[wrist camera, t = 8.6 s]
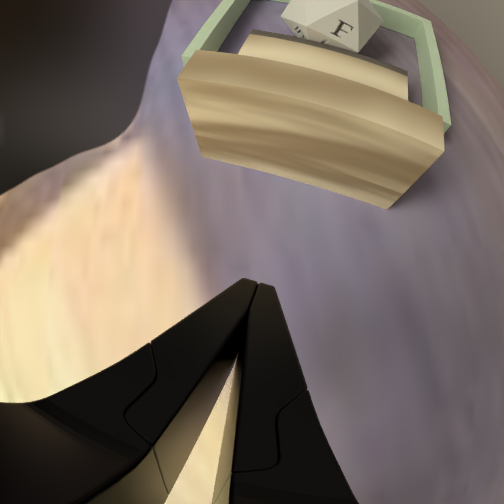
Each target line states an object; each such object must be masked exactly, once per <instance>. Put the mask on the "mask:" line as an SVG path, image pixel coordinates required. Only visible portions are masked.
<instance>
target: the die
mask: <svg viewBox="0 0 504 504" xmlns="http://www.w3.org/2000/svg"><path fill="white" fill-rule="evenodd" d="M281 17H282V19H283V20H284V21H285V22H286V24H287V25H288V26H289V27H290V29H291V30H292V31H293V33H294V34H295V35H296V37H298V38H303V39H307V40H312V41H316V42H320V43H324V44H328V45H331V46H335V47H339V48H342V49H345V50H349V51H352V52H355V53H358V52H359V51H360V50H361V49H362V47H363V46H364V45H365V44H366V43H367V41H368V40H369V39H370V38H371V36H372V35H373V34H374V33H375V32H376V30H377V29H378V28H379V27H380V26H381V24H382V23H383V20H382V18H381V17H380V15H379V14H378V13H377V11H376V10H375V8H374V7H373V5H372V4H371V3H370V1H369V0H291V1H290V3H289V4H288V6H287V7H286V9H285V11H284V12H283V14H282V15H281Z"/></svg>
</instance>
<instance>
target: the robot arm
mask: <svg viewBox="0 0 504 504" xmlns="http://www.w3.org/2000/svg"><path fill="white" fill-rule="evenodd" d="M237 355H238V356H237ZM236 358H237V360H236ZM235 361H236V364H235V369H234V375H233V381H232V387H231V393H230V399H229V405H228V411H227V417H226V422H225V428H224V434H223V440H222V446H221V452H220V458H219V464H218V470H217V475H216V481H215V487H214V493H213V499H212V504H359V503H358V501H357V500H356V498H355V496H354V494H353V493H352V491H351V489H350V486H349V484H348V482H347V480H346V478H345V476H344V474H343V472H342V470H341V468H340V466H339V464H338V462H337V460H336V458H335V456H334V454H333V451H332V449H331V447H330V445H329V443H328V441H327V438H326V436H325V434H324V432H323V429H322V427H321V425H320V422H319V420H318V417H317V414H316V411H315V408H314V406H313V403H312V400H311V396H310V393H309V391H308V390H307V384H306V381H305V378H304V375H303V372H302V369H301V366H300V363H299V360H298V357H297V354H296V350H295V347H294V344H293V341H292V338H291V335H290V332H289V329H288V326H287V323H286V320H285V317H284V314H283V311H282V308H281V305H280V302H279V299H278V296H277V293H276V290H275V287H274V286H271V285H267V284H264V283H259V284H258V283H257V282H256V281H253V280H249V279H246V278H242V279H240V280H239V281H237V282H236V283H235V284H233V285H232V286H230V287H229V288H227V289H226V290H224V291H223V292H222V293H220V294H219V295H217V296H216V297H214V298H213V299H211V300H210V301H209V302H207V303H206V304H204V305H203V306H201V307H200V308H198V309H197V310H196V311H194V312H193V313H191V314H190V315H188V316H187V317H185V318H184V319H182V320H181V321H180V322H178V323H177V324H175V325H174V326H172V327H171V328H169V329H168V330H166V331H165V332H163V333H162V334H161V335H159V336H158V337H156V338H155V339H153V340H152V341H151V344H150V343H147V344H145V345H144V346H143V347H141V348H140V349H138V350H137V351H135V352H133V353H132V354H130V355H129V356H127V357H125V358H124V359H122V360H121V361H119V362H117V363H115V364H114V365H112V366H110V367H108V368H106V369H104V370H102V371H101V372H99V373H97V374H95V375H93V376H91V377H89V378H87V379H84V380H82V381H80V382H78V383H76V384H74V385H72V386H70V387H68V388H66V389H64V390H62V391H60V392H58V393H55V394H53V395H51V396H49V397H46V398H43V399H40V400H37V401H32V402H25V403H4V402H0V504H164V503H165V501H166V499H167V497H168V495H169V494H170V492H171V490H172V488H173V486H174V484H175V482H176V480H177V478H178V476H179V474H180V473H181V471H182V469H183V467H184V465H185V463H186V461H187V459H188V457H189V455H190V453H191V451H192V449H193V447H194V445H195V443H196V441H197V439H198V437H199V435H200V433H201V431H202V429H203V427H204V425H205V423H206V421H207V419H208V417H209V415H210V413H211V411H212V409H213V407H214V405H215V403H216V401H217V399H218V397H219V395H220V393H221V391H222V389H223V387H224V385H225V382H226V380H227V378H228V376H229V374H230V372H231V370H232V368H233V365H234V363H235Z"/></svg>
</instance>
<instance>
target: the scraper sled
mask: <svg viewBox="0 0 504 504" xmlns="http://www.w3.org/2000/svg"><path fill="white" fill-rule="evenodd" d="M177 79H178V82H179V85H180V89H181V92H182V95H183V98H184V101H185V105H186V108H187V111H188V114H189V117H190V121H191V124H192V127H193V130H194V133H195V136H196V139H197V143H198V146H199V149H200V152H201V155H202V157H205V158H210V159H214V160H219V161H223V162H227V163H231V164H235V165H239V166H243V167H247V168H251V169H255V170H259V171H263V172H267V173H271V174H274V175H278V176H282V177H285V178H289V179H292V180H296V181H299V182H303V183H306V184H310V185H313V186H316V187H320V188H323V189H326V190H329V191H333V192H336V193H339V194H342V195H345V196H348V197H352V198H355V199H358V200H361V201H364V202H367V203H370V204H373V205H375V206H378V207H381V208H384V209H388V208H389V207H390V206H391V205H392V204H393V203H394V202H395V201H396V200H398V199H399V198H400V197H401V196H402V195H403V194H404V193H405V192H406V191H407V190H408V189H409V188H410V187H411V186H412V185H413V183H414V182H415V181H416V180H417V179H418V178H419V177H420V176H421V175H422V174H423V173H424V172H425V171H426V170H427V169H428V168H429V167H430V166H431V165H432V164H433V163H434V162H435V161H436V160H437V159H438V158H439V157H440V156H441V154H442V153H443V152H444V130H443V116H441V115H439V114H437V113H434V112H432V111H430V110H428V109H426V108H424V107H421V106H419V105H417V104H414V103H412V102H410V101H408V76H407V71H405V70H403V69H400V68H398V67H395V66H393V65H390V64H387V63H385V62H382V61H379V60H376V59H374V58H371V57H368V56H365V55H362V54H359V53H355V52H352V51H349V50H345V49H342V48H339V47H335V46H331V45H328V44H324V43H320V42H316V41H312V40H307V39H303V38H298V37H293V36H288V35H283V34H278V33H272V32H266V31H260V30H252V31H251V33H250V35H249V36H248V38H247V39H246V41H245V43H244V45H243V46H242V48H241V50H240V51H239V53H238V54H231V53H224V52H215V51H205V50H196V51H195V52H194V54H193V55H192V57H191V58H190V59H189V61H188V62H187V64H186V65H185V67H184V68H183V70H182V71H181V73H180V74H179V76H178V78H177Z"/></svg>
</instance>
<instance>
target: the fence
mask: <svg viewBox="0 0 504 504" xmlns="http://www.w3.org/2000/svg"><path fill="white" fill-rule="evenodd" d="M250 1H251V0H223V1H222V2H221V4H220V5H219V6H218V7H217V9H216V10H215V11H214V12H213V14H212V15H211V16H210V18H209V19H208V20H207V21H206V23H205V24H204V25H203V27H202V28H201V29H200V31H199V32H198V33H197V35H196V36H195V38H194V39H193V40H192V42H191V43H190V45H189V46H188V47H187V49H186V50H185V52H184V53H183V55H182V60H183V64H184V67H185V65H186V64H187V62H188V61H189V59H190V58H191V57H192V55H193V54H194V52H195V51H196V50H205V51H215V52H217V51H218V50H219V48H220V46H221V45H222V43H223V42H224V40H225V38H226V37H227V35H228V34H229V32H230V31H231V29H232V28H233V26H234V24H235V23H236V21H237V20H238V18H239V17H240V15H241V14H242V13H243V11H244V10H245V8H246V7H247V5H248V4H249V2H250ZM271 1H278V2H285V3H290V1H291V0H271ZM369 1H370V3H371V4H372V5H373V7H374V8H375V10H376V11H377V13H378V14H379V15H380V17H381V18H382V20H383V23H382V24H381V26H382V27H385V28H388V29H391V30H393V31H396V32H399V33H401V34H404V35H406V36H409V37H411V38H414V39H415V43H416V49H417V56H418V64H419V72H420V81H421V92H422V105H423V107H424V108H426V109H428V110H430V111H432V112H434V113H437V114H439V115H441V116H443V130H444V133H445V132H446V131H447V129H448V128H449V127H450V126H451V119H450V111H449V104H448V98H447V91H446V85H445V80H444V75H443V70H442V65H441V60H440V56H439V51H438V47H437V43H436V39H435V36H434V32H433V28H432V25H431V21H428V20H426V19H424V18H422V17H419V16H417V15H414V14H412V13H410V12H407V11H404V10H402V9H399V8H396V7H394V6H391V5H388V4H385V3H382V2H379V1H376V0H369Z"/></svg>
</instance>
